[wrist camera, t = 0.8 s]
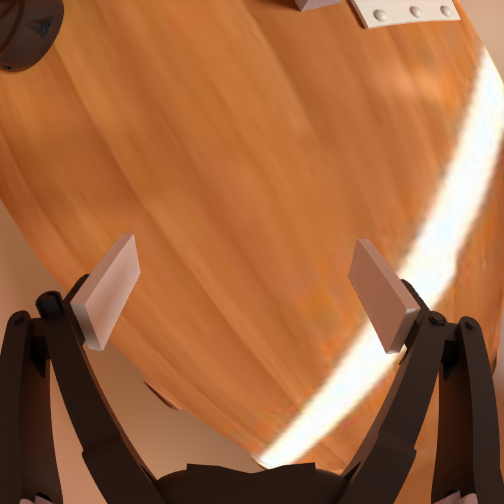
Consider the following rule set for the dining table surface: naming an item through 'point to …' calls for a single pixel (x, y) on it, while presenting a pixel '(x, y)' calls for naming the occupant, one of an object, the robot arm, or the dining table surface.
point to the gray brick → (314, 3)
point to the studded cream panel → (403, 11)
